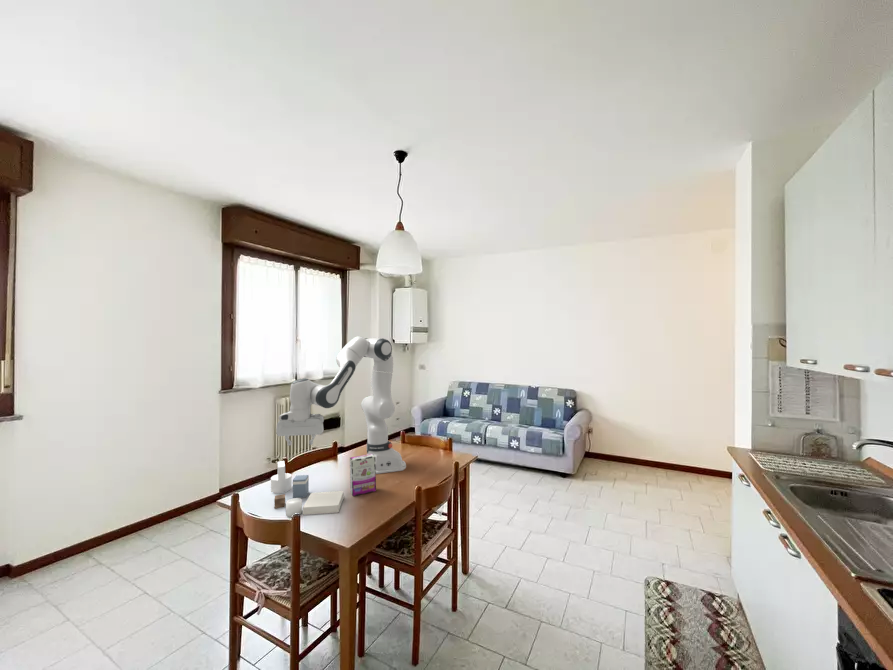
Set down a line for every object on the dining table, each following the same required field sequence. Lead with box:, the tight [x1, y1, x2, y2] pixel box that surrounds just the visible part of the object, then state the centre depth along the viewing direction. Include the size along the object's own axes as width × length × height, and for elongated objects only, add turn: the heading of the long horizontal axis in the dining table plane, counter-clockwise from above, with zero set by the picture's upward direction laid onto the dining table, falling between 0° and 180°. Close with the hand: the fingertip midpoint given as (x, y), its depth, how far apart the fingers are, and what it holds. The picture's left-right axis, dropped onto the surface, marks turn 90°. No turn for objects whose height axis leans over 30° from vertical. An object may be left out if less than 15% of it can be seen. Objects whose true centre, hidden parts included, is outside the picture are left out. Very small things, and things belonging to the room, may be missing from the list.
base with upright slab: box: [270, 460, 293, 494], centre depth 173 cm, size 9×9×12 cm
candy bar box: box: [349, 454, 377, 497], centre depth 169 cm, size 11×5×16 cm, turn 117°
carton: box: [292, 474, 310, 499], centre depth 166 cm, size 6×6×8 cm
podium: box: [302, 490, 345, 516], centre depth 155 cm, size 14×14×3 cm
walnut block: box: [273, 493, 286, 510], centre depth 156 cm, size 4×4×4 cm
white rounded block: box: [285, 497, 303, 518], centre depth 149 cm, size 6×6×5 cm
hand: (300, 444), depth 166 cm, fingers open, 8 cm apart
